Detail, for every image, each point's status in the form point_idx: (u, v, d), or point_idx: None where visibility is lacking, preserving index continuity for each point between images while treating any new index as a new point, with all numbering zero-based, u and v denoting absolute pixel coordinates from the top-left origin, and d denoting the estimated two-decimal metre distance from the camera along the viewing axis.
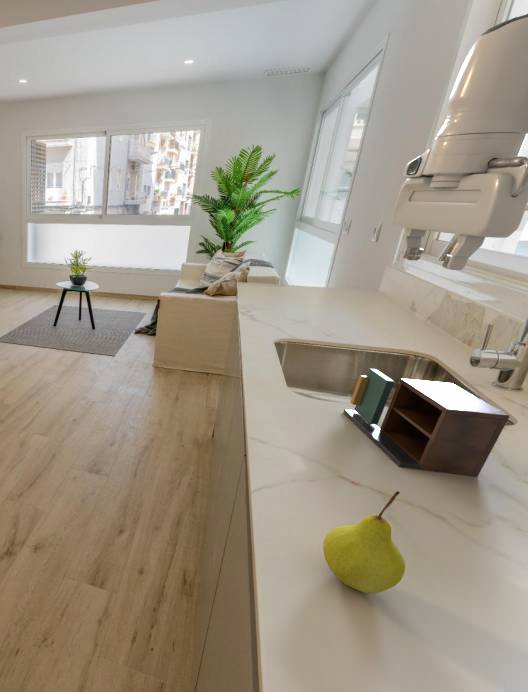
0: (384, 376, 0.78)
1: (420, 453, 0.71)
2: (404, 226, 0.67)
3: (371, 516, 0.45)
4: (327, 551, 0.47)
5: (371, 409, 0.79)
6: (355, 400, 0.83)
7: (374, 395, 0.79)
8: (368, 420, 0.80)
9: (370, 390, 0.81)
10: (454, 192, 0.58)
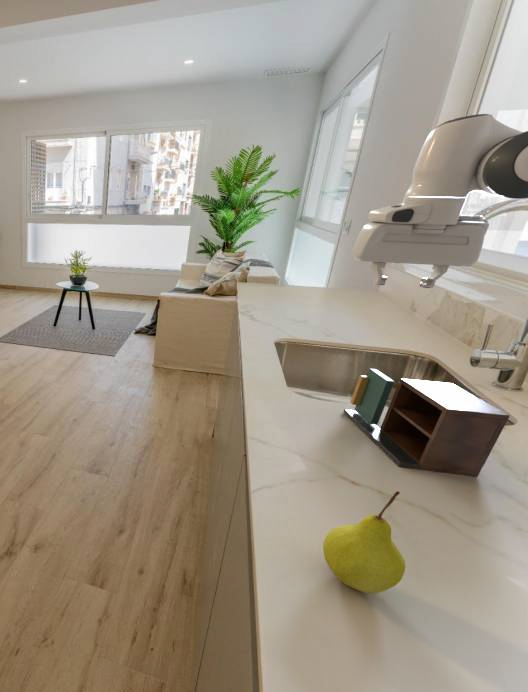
0: (384, 376, 0.78)
1: (420, 453, 0.71)
2: (381, 261, 0.84)
3: (371, 516, 0.45)
4: (327, 551, 0.47)
5: (371, 409, 0.79)
6: (355, 400, 0.83)
7: (374, 395, 0.79)
8: (368, 420, 0.80)
9: (370, 390, 0.81)
10: (436, 236, 0.81)
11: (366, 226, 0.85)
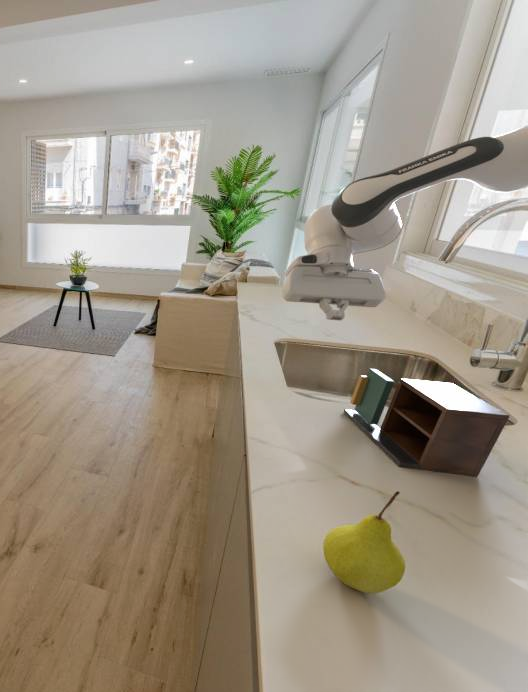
0: (384, 376, 0.78)
1: (420, 453, 0.71)
2: (308, 294, 0.96)
3: (371, 516, 0.45)
4: (327, 551, 0.47)
5: (371, 409, 0.79)
6: (355, 400, 0.83)
7: (374, 395, 0.79)
8: (368, 420, 0.80)
9: (370, 390, 0.81)
10: (343, 278, 0.97)
11: (286, 277, 1.02)
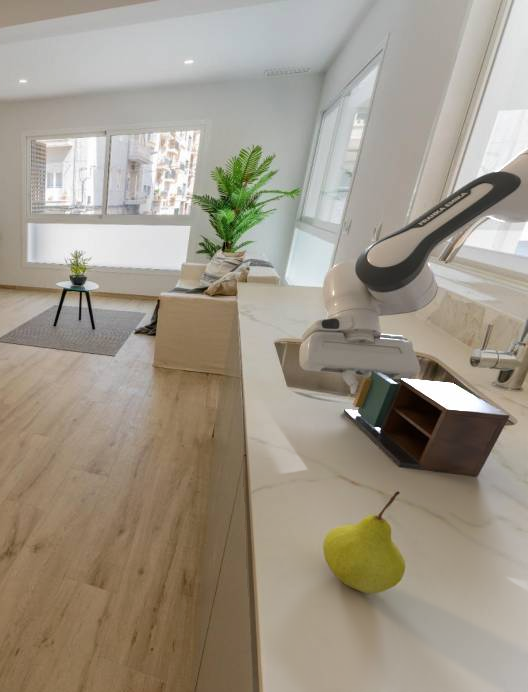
0: (387, 378, 0.77)
1: (420, 453, 0.71)
2: (330, 364, 0.84)
3: (371, 516, 0.45)
4: (327, 551, 0.47)
5: (375, 411, 0.79)
6: (358, 402, 0.82)
7: (377, 398, 0.78)
8: (371, 423, 0.79)
9: (373, 392, 0.80)
10: (370, 346, 0.85)
11: (303, 342, 0.90)
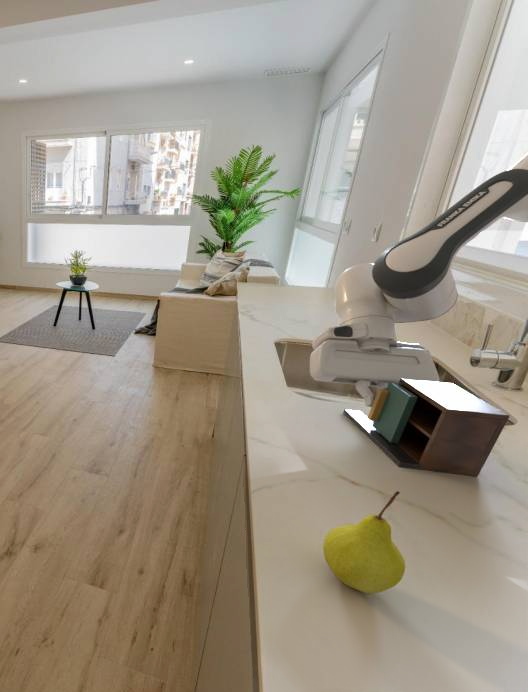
0: (406, 391, 0.72)
1: (420, 453, 0.71)
2: (343, 375, 0.80)
3: (371, 516, 0.45)
4: (327, 551, 0.47)
5: (392, 426, 0.74)
6: (373, 415, 0.77)
7: (395, 411, 0.73)
8: (388, 438, 0.74)
9: (390, 405, 0.75)
10: (385, 355, 0.80)
11: (314, 350, 0.85)
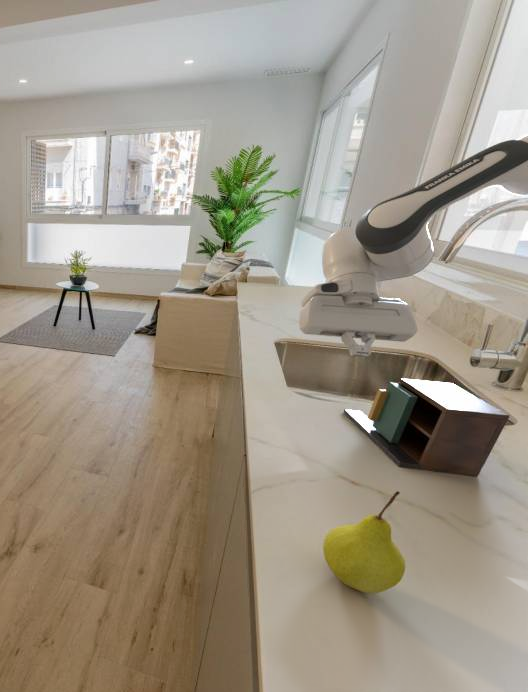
0: (406, 391, 0.72)
1: (420, 453, 0.71)
2: (329, 326, 0.86)
3: (371, 516, 0.45)
4: (327, 551, 0.47)
5: (392, 426, 0.74)
6: (373, 415, 0.77)
7: (395, 411, 0.73)
8: (388, 438, 0.74)
9: (390, 405, 0.75)
10: (368, 309, 0.87)
11: (303, 307, 0.92)
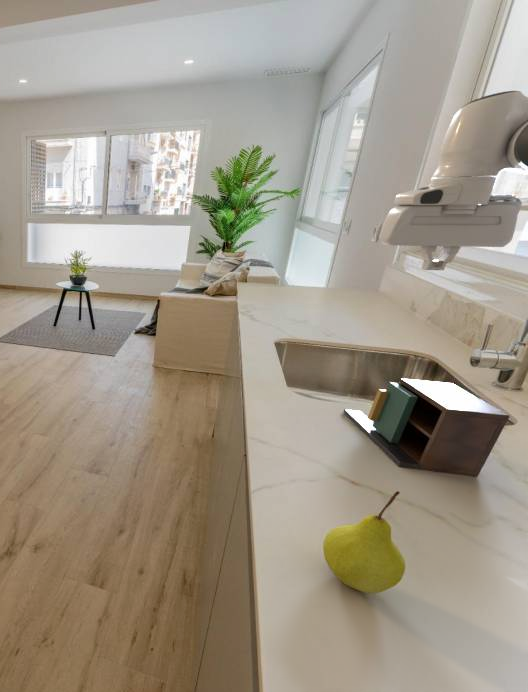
0: (406, 391, 0.72)
1: (420, 453, 0.71)
2: (410, 244, 0.82)
3: (371, 516, 0.45)
4: (327, 551, 0.47)
5: (392, 426, 0.74)
6: (373, 415, 0.77)
7: (395, 411, 0.73)
8: (388, 438, 0.74)
9: (390, 405, 0.75)
10: (467, 217, 0.79)
11: (393, 210, 0.83)
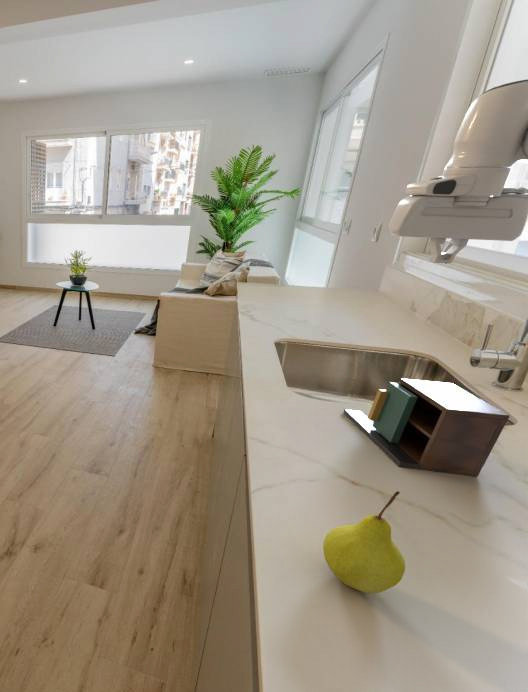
0: (406, 391, 0.72)
1: (420, 453, 0.71)
2: (420, 235, 0.81)
3: (371, 516, 0.45)
4: (327, 551, 0.47)
5: (392, 426, 0.74)
6: (373, 415, 0.77)
7: (395, 411, 0.73)
8: (388, 438, 0.74)
9: (390, 405, 0.75)
10: (478, 209, 0.78)
11: (404, 200, 0.82)
